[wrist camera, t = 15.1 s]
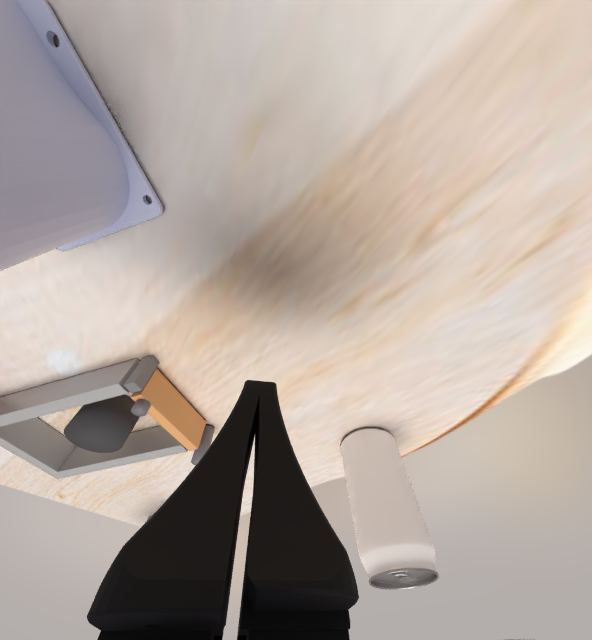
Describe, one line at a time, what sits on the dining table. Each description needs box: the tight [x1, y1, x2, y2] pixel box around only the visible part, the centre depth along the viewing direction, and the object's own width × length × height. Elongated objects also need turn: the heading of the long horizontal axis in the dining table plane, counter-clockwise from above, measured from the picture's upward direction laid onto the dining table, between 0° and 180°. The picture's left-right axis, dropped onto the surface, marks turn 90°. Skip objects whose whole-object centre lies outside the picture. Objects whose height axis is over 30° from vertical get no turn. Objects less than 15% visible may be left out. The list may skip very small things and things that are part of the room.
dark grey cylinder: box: [64, 395, 140, 453], centre depth 25 cm, size 5×5×4 cm
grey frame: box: [0, 355, 188, 479], centre depth 25 cm, size 10×18×3 cm, turn 108°
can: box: [341, 427, 439, 589], centre depth 26 cm, size 6×6×12 cm
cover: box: [131, 369, 214, 465], centre depth 24 cm, size 10×1×4 cm, turn 20°
